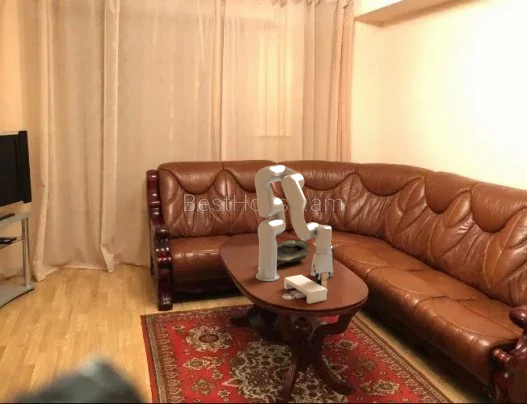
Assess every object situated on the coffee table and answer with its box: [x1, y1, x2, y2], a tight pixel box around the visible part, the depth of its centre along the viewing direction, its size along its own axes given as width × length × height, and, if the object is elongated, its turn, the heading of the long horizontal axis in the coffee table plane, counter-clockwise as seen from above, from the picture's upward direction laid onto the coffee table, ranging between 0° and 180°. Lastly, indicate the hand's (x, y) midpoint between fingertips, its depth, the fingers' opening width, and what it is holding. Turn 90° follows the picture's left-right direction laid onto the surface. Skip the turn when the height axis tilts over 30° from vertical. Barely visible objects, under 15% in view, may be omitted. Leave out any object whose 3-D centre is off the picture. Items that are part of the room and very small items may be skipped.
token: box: [281, 293, 296, 301], centre depth 231 cm, size 6×6×1 cm
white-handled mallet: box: [290, 272, 329, 299], centre depth 236 cm, size 6×18×10 cm, turn 120°
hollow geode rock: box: [277, 238, 310, 267], centre depth 282 cm, size 28×13×15 cm
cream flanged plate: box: [283, 274, 328, 305], centre depth 235 cm, size 22×10×6 cm, turn 30°
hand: (321, 285), depth 240 cm, fingers closed on white-handled mallet, 3 cm apart
